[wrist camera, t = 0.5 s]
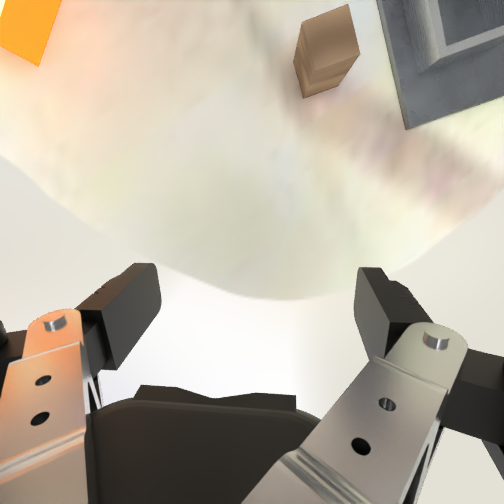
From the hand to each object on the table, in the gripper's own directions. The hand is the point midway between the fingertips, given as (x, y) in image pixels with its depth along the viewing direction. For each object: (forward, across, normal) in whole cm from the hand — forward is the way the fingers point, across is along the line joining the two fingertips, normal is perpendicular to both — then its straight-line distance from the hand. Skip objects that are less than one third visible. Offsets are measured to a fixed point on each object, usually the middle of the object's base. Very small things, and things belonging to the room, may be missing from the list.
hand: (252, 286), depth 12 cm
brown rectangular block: (+28, -4, -12) cm, 31 cm away
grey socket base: (+30, -18, -16) cm, 38 cm away
